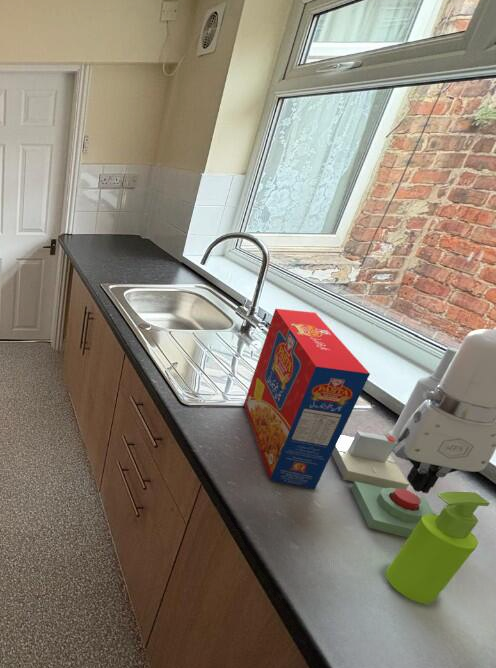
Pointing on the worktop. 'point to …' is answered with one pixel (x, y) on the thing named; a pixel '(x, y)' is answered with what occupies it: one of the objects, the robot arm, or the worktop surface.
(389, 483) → the block
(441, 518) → the soap dispenser
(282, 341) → the pasta box
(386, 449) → the tap handle
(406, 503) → the button
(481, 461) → the robot arm
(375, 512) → the button box
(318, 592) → the worktop surface
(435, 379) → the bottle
